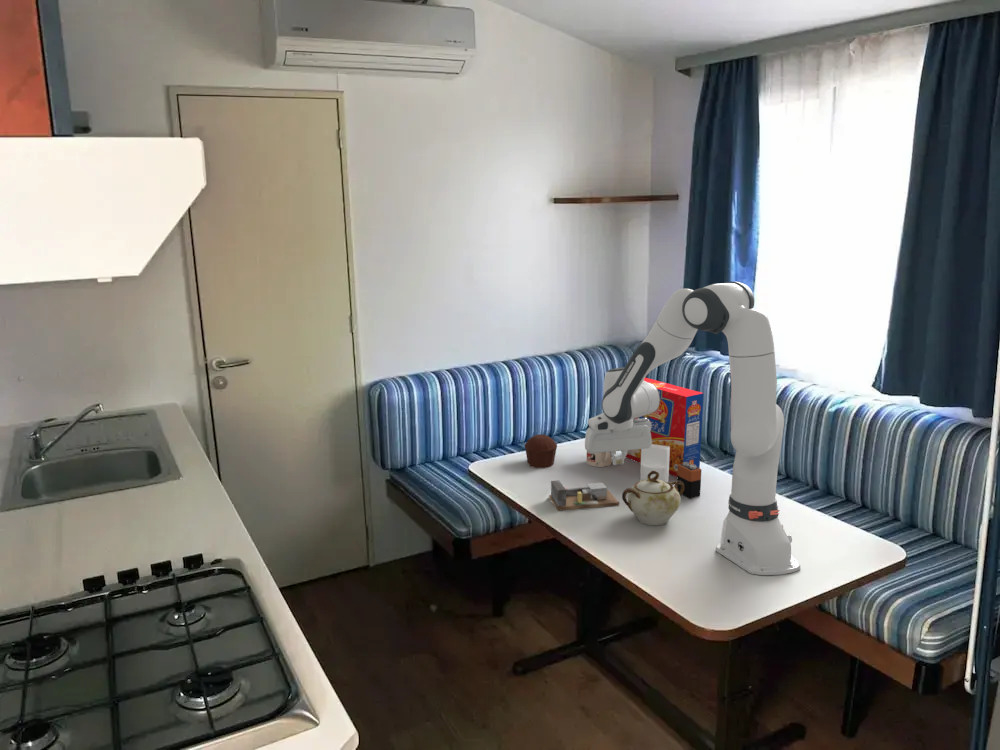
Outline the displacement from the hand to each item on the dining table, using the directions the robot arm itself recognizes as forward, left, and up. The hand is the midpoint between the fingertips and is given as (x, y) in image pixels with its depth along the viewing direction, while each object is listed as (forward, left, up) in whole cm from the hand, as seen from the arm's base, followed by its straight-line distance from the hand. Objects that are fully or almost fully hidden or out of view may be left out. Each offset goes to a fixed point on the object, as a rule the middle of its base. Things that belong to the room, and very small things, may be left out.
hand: (618, 464), depth 245 cm
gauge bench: (0, +11, -11) cm, 16 cm away
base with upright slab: (+12, -17, -12) cm, 24 cm away
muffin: (+36, +15, -12) cm, 41 cm away
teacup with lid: (+31, -5, -12) cm, 34 cm away
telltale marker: (-4, +13, -10) cm, 17 cm away
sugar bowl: (-17, -5, -12) cm, 21 cm away
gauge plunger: (-1, +8, -10) cm, 13 cm away
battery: (-1, -23, -12) cm, 26 cm away
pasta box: (+26, -25, -12) cm, 38 cm away
